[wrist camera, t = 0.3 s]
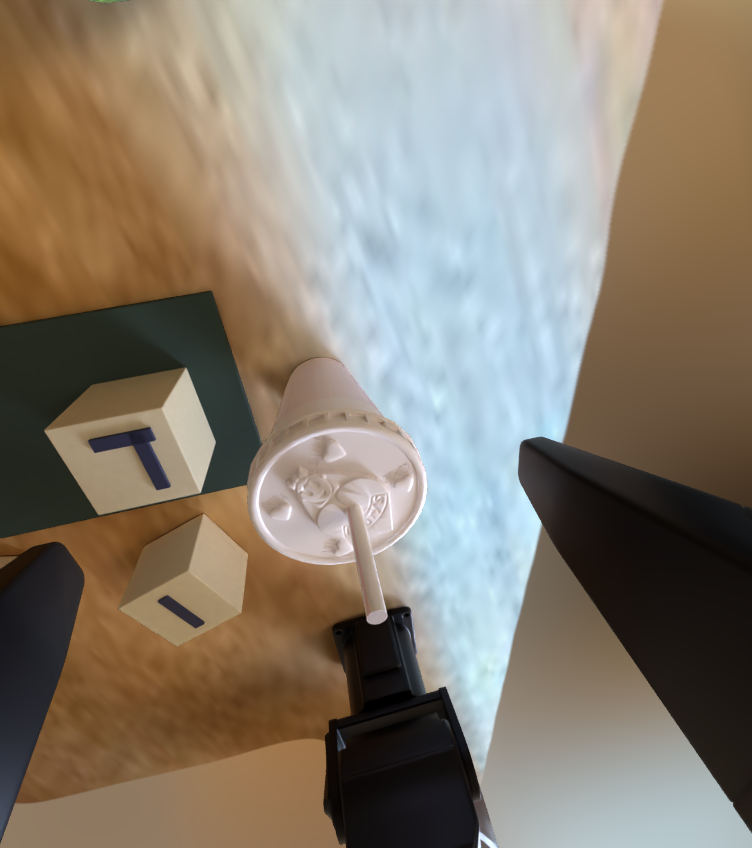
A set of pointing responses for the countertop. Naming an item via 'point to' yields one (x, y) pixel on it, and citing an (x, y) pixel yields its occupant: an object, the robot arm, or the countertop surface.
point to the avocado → (108, 1)
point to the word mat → (103, 362)
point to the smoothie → (335, 477)
